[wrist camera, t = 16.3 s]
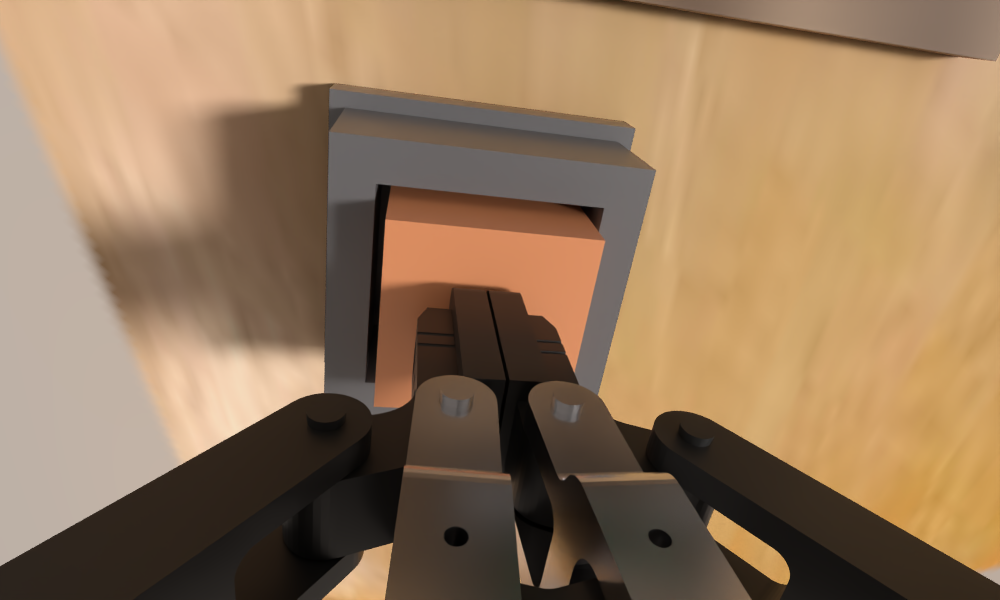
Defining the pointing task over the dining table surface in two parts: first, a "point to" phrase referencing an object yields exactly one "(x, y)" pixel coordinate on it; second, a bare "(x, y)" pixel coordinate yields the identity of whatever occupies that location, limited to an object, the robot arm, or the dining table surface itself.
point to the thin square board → (872, 21)
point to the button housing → (473, 170)
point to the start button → (478, 268)
